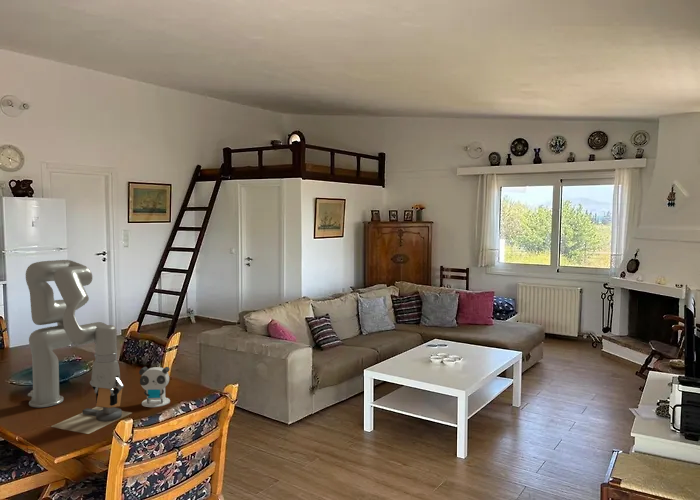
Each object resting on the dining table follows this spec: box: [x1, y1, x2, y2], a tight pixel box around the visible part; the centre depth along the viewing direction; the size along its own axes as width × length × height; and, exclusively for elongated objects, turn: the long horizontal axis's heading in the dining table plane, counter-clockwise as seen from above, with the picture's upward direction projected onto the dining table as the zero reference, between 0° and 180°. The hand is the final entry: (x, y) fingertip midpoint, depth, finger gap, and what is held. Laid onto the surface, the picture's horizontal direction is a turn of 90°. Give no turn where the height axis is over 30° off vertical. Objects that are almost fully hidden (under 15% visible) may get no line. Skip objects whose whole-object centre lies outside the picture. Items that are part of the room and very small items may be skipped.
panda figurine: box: [138, 366, 171, 408], centre depth 225 cm, size 12×11×15 cm
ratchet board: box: [50, 406, 133, 435], centre depth 203 cm, size 18×22×8 cm
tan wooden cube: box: [95, 386, 123, 408], centre depth 207 cm, size 6×6×7 cm
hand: (106, 403), depth 205 cm, fingers closed on tan wooden cube, 5 cm apart
